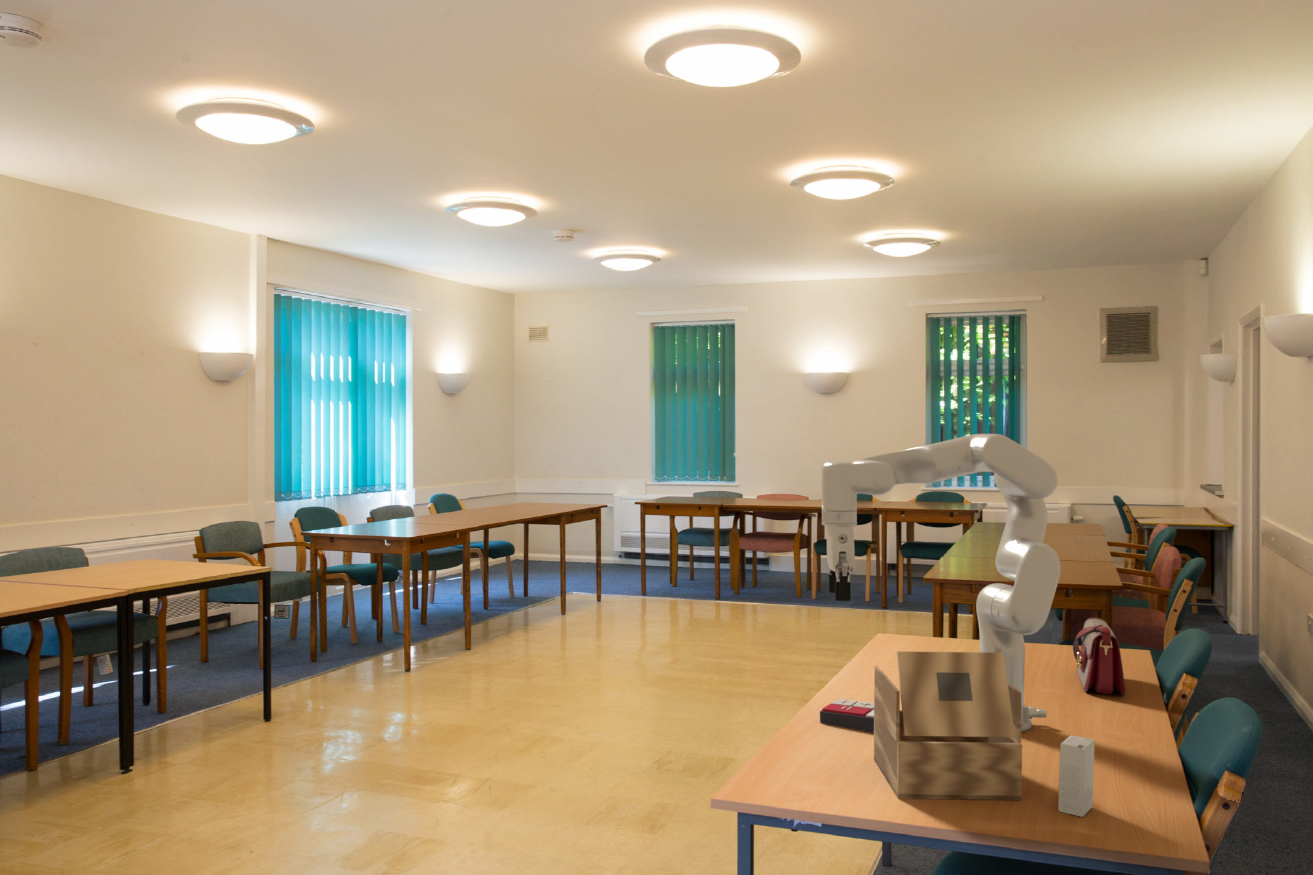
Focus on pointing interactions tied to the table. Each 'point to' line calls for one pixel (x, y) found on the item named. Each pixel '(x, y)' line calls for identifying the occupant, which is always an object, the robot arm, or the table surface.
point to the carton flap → (955, 694)
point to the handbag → (1099, 658)
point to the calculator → (849, 714)
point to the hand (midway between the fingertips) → (839, 596)
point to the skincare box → (1076, 775)
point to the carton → (944, 755)
